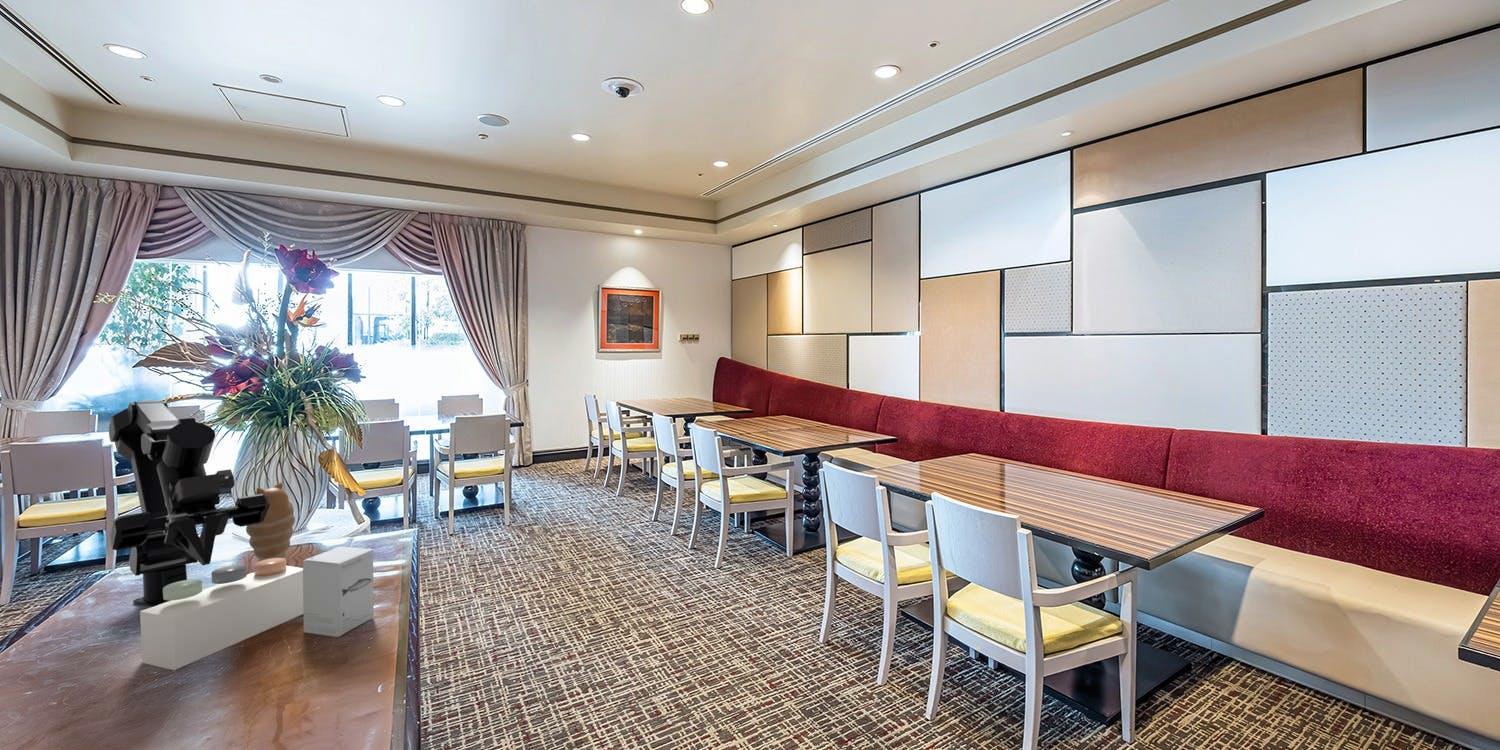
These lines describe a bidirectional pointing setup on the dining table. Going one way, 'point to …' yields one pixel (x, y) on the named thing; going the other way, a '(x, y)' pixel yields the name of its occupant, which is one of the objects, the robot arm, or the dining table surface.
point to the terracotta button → (270, 566)
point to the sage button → (182, 589)
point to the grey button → (229, 574)
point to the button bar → (219, 617)
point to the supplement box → (338, 591)
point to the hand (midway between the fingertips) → (206, 563)
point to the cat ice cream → (273, 526)
